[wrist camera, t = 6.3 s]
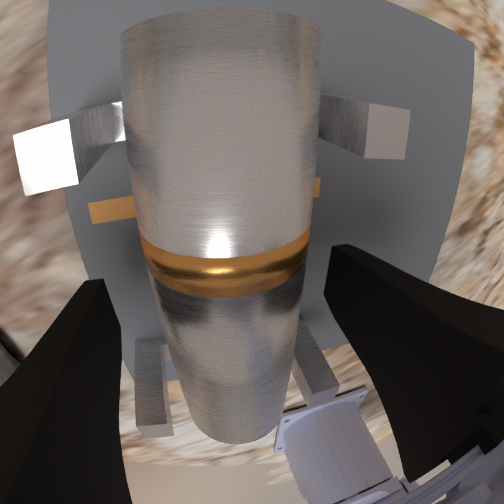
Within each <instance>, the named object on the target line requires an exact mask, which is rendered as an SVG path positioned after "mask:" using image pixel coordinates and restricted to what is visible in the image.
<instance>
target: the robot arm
mask: <svg viewBox="0 0 504 504" xmlns="http://www.w3.org/2000/svg"><path fill="white" fill-rule="evenodd" d="M323 295H324V297H325V299H326V302H327V304H328V306H329V309H330V311H331V313H332V315H333V317H334V319H335V320H336V322H337V324H338V325H339V327H340V329H341V330H342V332H343V333H344V335H345V337H346V338H347V340H348V341H349V343H350V344H351V346H352V347H353V349H354V351H355V352H356V354H357V355H358V357H359V359H360V360H361V362H362V363H363V365H364V366H365V368H366V370H367V372H368V374H369V375H370V377H371V379H372V381H373V384H374V386H375V388H376V390H377V392H378V395H379V397H380V399H381V401H382V404H383V406H384V409H385V411H386V414H387V416H388V419H389V422H390V425H391V428H392V431H393V434H394V437H395V440H396V443H397V446H398V450H399V454H400V458H401V462H402V467H403V471H404V475H405V477H403V478H402V479H400V480H399V479H398V477H397V476H396V477H394V478H393V475H392V473H391V471H390V469H389V467H388V466H387V463H386V462H385V460H384V458H383V456H382V454H381V452H380V450H379V449H378V447H377V445H376V443H375V441H374V439H373V437H372V435H371V434H370V432H369V430H368V428H367V426H366V424H365V423H364V421H363V419H362V417H361V415H360V413H359V412H358V410H357V409H358V408H359V406H360V404H361V403H362V401H363V399H364V398H365V396H366V394H367V392H368V389H367V388H366V387H363V388H360V389H358V390H355V391H352V392H350V393H347V394H344V395H341V396H338V397H335V398H334V400H333V401H329V402H326V403H323V404H320V405H317V406H314V407H311V408H308V407H303V408H300V409H296V410H293V411H289V412H286V413H283V414H282V417H281V419H280V421H279V426H278V431H277V436H276V441H275V446H274V452H275V453H280V452H285V454H286V457H287V460H288V462H289V465H290V468H291V470H292V473H293V475H294V478H295V480H296V483H297V486H298V488H299V491H300V493H301V495H302V497H303V498H304V499H305V500H306V501H307V502H308V503H309V504H431V503H433V502H434V501H436V500H437V499H439V498H440V497H441V496H443V495H444V494H445V493H446V498H445V499H443V500H441V501H439V502H437V503H435V504H504V310H502V309H498V308H494V307H491V306H487V305H484V304H481V303H477V302H474V301H471V300H468V299H465V298H463V297H460V296H457V295H455V294H452V293H450V292H447V291H445V290H442V289H440V288H438V287H435V286H433V285H431V284H429V283H427V282H425V281H423V280H421V279H419V278H416V277H414V276H412V275H410V274H408V273H406V272H405V271H403V270H401V269H399V268H397V267H395V266H393V265H391V264H389V263H387V262H385V261H383V260H381V259H380V258H378V257H376V256H374V255H372V254H370V253H368V252H366V251H364V250H362V249H359V248H357V247H355V246H353V245H350V244H341V245H334V246H332V247H331V253H330V259H329V265H328V271H327V276H326V282H325V287H324V293H323ZM121 364H122V337H121V325H120V323H119V320H118V318H117V315H116V312H115V310H114V307H113V304H112V302H111V299H110V296H109V293H108V290H107V287H106V284H105V281H104V278H101V279H94V280H87V281H85V282H84V283H83V284H82V285H81V286H80V288H79V289H78V290H77V291H76V293H75V294H74V295H73V297H72V298H71V299H70V301H69V302H68V303H67V305H66V306H65V307H64V309H63V310H62V311H61V313H60V314H59V315H58V317H57V318H56V319H55V321H54V322H53V324H52V325H51V326H50V328H49V329H48V330H47V331H46V333H45V334H44V335H43V336H42V338H41V339H40V340H39V342H38V343H37V344H36V346H35V347H34V348H33V350H32V351H31V352H30V353H29V355H28V356H27V357H26V358H25V360H24V361H23V362H22V363H21V364H20V366H19V367H18V368H17V369H16V370H15V371H14V372H13V374H12V375H11V376H10V377H9V378H8V379H7V380H6V381H5V382H4V384H3V385H2V386H1V387H0V504H132V500H131V496H130V492H129V488H128V484H127V479H126V474H125V468H124V463H123V457H122V449H121V441H120V433H119V398H120V379H121ZM447 459H448V460H449V462H450V463H451V465H450V466H449V467H448V468H446V469H445V470H444V471H442V472H441V473H439V474H438V475H436V476H435V477H433V478H432V479H430V480H429V481H427V482H426V483H424V484H423V485H421V486H419V484H418V483H417V482H416V481H415V480H417V479H418V478H420V477H421V476H423V475H425V474H426V473H428V472H429V471H431V470H432V469H434V468H435V467H437V466H438V465H440V464H441V463H443V462H444V461H445V460H447ZM391 478H392V479H391Z"/></svg>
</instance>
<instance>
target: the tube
mask: <svg viewBox="0 0 504 504" xmlns="http://www.w3.org/2000/svg"><path fill="white" fill-rule="evenodd" d="M321 49H322V29H321V27H320V26H319V25H318V24H316V23H314V22H312V21H310V20H308V19H305V18H303V17H300V16H296V15H292V14H288V13H283V12H278V11H272V10H265V9H256V8H238V7H222V8H204V9H195V10H187V11H181V12H176V13H170V14H166V15H162V16H158V17H154V18H151V19H148V20H145V21H142V22H140V23H138V24H135V25H133V26H131V27H129V28H127V29H126V30H124V31H123V32H122V33H121V34H120V36H119V53H120V81H121V98H122V111H123V122H124V132H125V142H126V150H127V158H128V166H129V173H130V180H131V187H132V193H133V199H134V205H135V211H136V216H137V222H138V229H139V234H140V239H141V244H142V249H143V254H144V258H145V262H146V266H147V270H148V274H149V278H150V283H151V287H152V291H153V295H154V299H155V303H156V306H157V310H158V314H159V318H160V321H161V325H162V328H163V332H164V335H165V339H166V342H167V345H168V349H169V352H170V355H171V358H172V361H173V365H174V368H175V371H176V374H177V377H178V380H179V383H180V386H181V389H182V392H183V394H184V397H185V400H186V403H187V406H188V408H189V411H190V414H191V416H192V419H193V421H194V422H195V424H196V425H197V427H198V428H199V429H200V430H201V431H202V432H203V433H204V434H206V435H207V436H209V437H211V438H213V439H215V440H217V441H220V442H224V443H230V444H243V443H249V442H253V441H256V440H258V439H260V438H262V437H264V436H266V435H267V434H268V433H270V432H271V431H272V430H273V429H274V428H275V427H276V425H277V424H278V423H279V421H280V419H281V417H282V414H283V409H284V404H285V399H286V393H287V388H288V382H289V377H290V371H291V365H292V359H293V353H294V347H295V341H296V334H297V328H298V321H299V314H300V308H301V300H302V293H303V286H304V278H305V270H306V262H307V257H308V248H309V240H310V230H311V221H312V207H313V196H314V184H315V172H316V159H317V145H318V129H319V111H320V87H321Z"/></svg>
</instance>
